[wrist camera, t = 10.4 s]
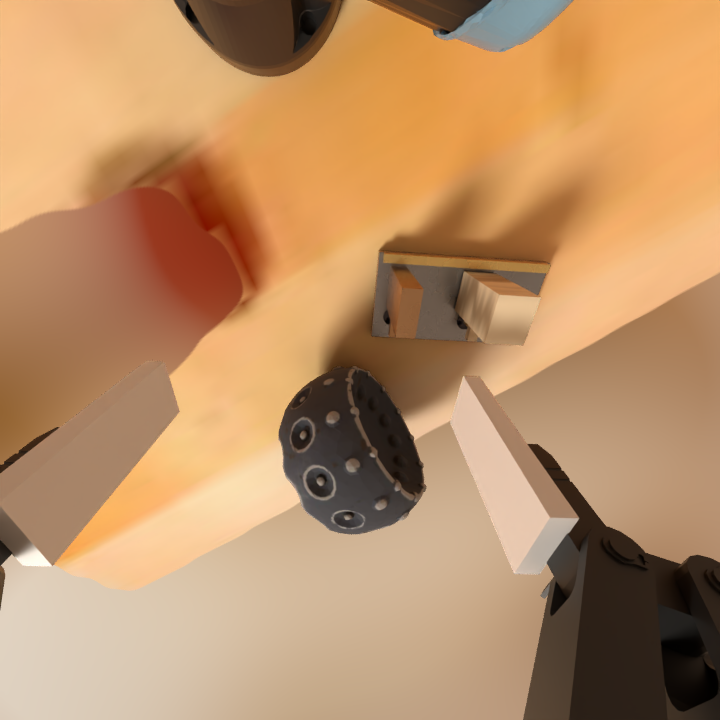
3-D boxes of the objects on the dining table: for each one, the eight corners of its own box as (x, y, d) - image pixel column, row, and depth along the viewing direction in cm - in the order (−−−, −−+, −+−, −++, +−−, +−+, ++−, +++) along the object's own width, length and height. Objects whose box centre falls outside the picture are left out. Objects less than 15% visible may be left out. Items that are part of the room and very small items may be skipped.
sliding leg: (463, 271, 35) (499, 294, 27) (495, 273, 36) (541, 297, 27) (449, 331, 39) (476, 369, 30) (478, 332, 39) (513, 370, 31)
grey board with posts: (378, 250, 35) (387, 270, 26) (544, 261, 36) (613, 284, 27) (371, 332, 41) (376, 374, 31) (515, 340, 42) (564, 383, 32)
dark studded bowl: (346, 333, 41) (340, 433, 23) (415, 421, 49) (449, 545, 32) (288, 370, 44) (245, 484, 26) (363, 448, 52) (367, 575, 34)
